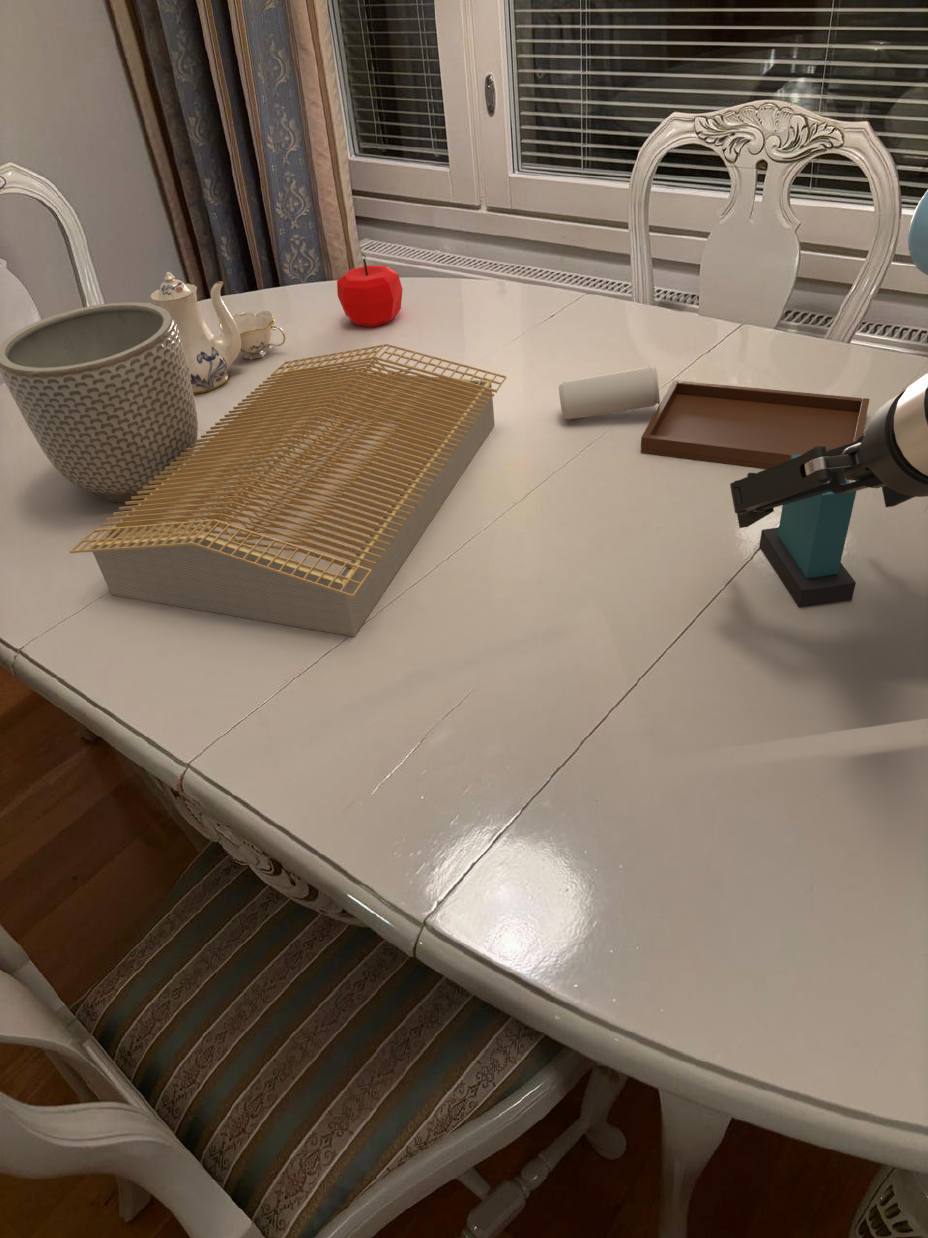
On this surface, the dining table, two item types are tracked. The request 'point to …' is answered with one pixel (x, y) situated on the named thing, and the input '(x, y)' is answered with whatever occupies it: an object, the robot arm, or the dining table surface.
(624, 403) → the beverage can
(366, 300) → the apple
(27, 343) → the planter
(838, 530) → the teal block on base
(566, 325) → the dining table surface
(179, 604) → the roof frame
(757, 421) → the tray
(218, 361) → the chinaware
